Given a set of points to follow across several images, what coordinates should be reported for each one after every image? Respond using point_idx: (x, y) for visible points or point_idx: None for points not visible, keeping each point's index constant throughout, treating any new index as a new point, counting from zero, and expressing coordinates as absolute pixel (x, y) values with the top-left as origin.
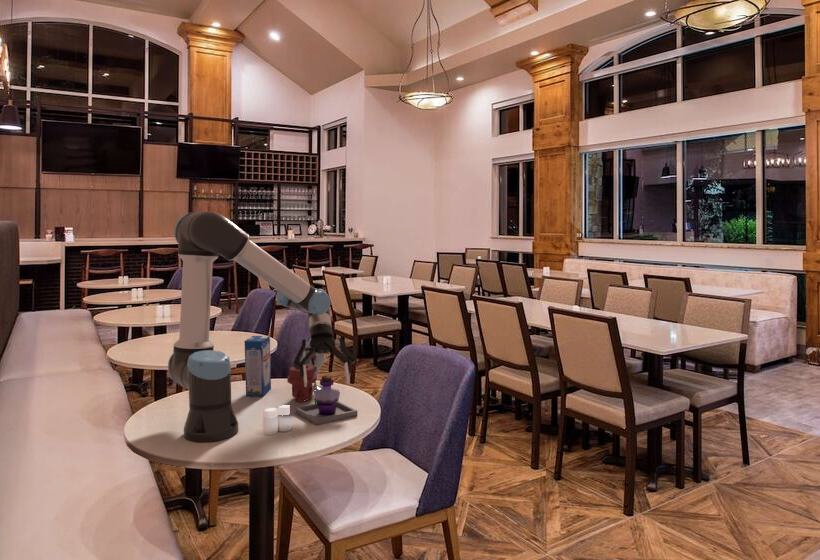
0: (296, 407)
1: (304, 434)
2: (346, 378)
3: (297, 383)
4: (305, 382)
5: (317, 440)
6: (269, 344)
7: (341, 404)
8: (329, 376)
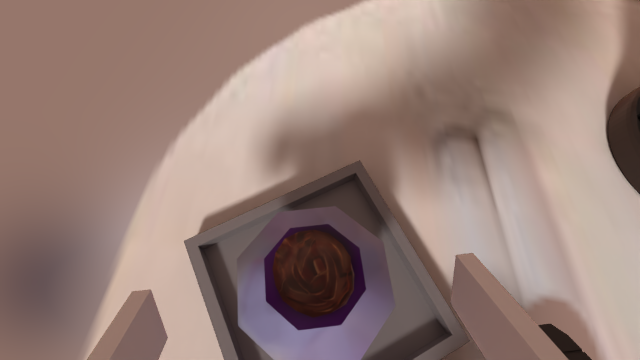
0: (463, 339)
1: (389, 101)
2: (147, 342)
3: None
4: (469, 254)
5: (348, 57)
6: None
7: (238, 357)
8: (289, 266)
